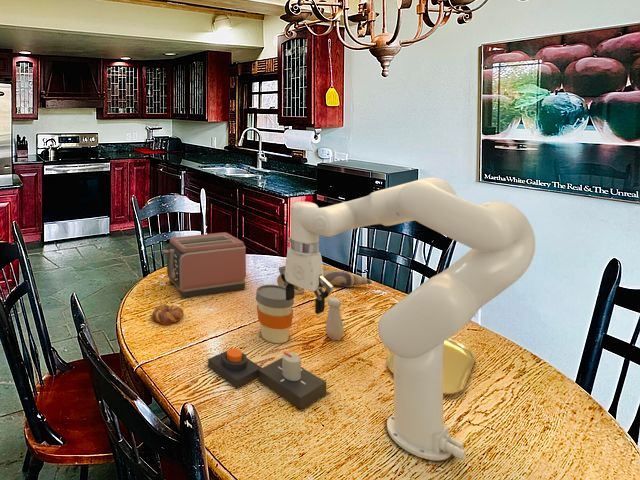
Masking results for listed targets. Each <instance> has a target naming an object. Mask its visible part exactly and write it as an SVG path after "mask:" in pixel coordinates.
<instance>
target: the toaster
mask: <svg viewBox="0 0 640 480" xmlns="http://www.w3.org/2000/svg"><path fill="white" fill-rule="evenodd" d="M246 248H247V247H246V245H245V243H244V241H243V240H241V239H238V238H237V237H235V236H233V235H231V234H230V233H229V232H225V231H224V232H214V233H206V234H205V233H204V234H196V235H195V234H194V235H193V234H192V235H185V236H174V237H170V238H169V243H168V244H167V245H166V249H164V250H162V253H163V254H164V255H166V275H167V277H168V281H169V283H170V285H174V286H175V287H176V289H177V290H179V294H180V297H182V299H186V298H194V297H201V296H207V295H214V294H221V293H227V292H234V291H240V290H245V288H246V277H247V258H246V257H247V255H246V253H247V252H246Z"/></svg>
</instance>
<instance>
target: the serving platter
mask: <svg viewBox="0 0 640 480" xmlns="http://www.w3.org/2000/svg"><path fill="white" fill-rule="evenodd" d="M385 362H386V367H387V368H388V369H389V371H390V372H391V374H393V375H394V354H393V353H392V352H390V353H389V354H388V355H387V357H386V360H385ZM475 362H476V356H475V354H474V353H473V351H471V350H470V349H469V348H468V347H467V346H465V345H464V344H462V343H461V342H459V341H456V340H454V339H451V338H449V339H447V340H446V341H445V342H444V351H443V396H450V395H455V394H458V393H460V392H462V391H463V390H464V389H465V387H466V385H467V382H468V380H469V377H470V375H471V372H472V369H473V367H474V365H475Z"/></svg>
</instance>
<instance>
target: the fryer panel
mask: <svg viewBox="0 0 640 480" xmlns="http://www.w3.org/2000/svg"><path fill="white" fill-rule="evenodd" d="M258 381H259V382H260V383H262V384H263V385H265V386H266V387H268V388H269V389H270V390H272V391H273V392H275V393H276V394H277V395H279V396H281V398H283V399H284V400H286V401H288V402H289V403H290V404H292V405H293V406H295V407H296V408H297V409H299V410H303V409H304V408H305V407H307V406H308V405H310V404H312V403H313V402H316V400H318V399H319V398H321V397H323V396H325V395H326V394H327V381H325V380H324V379H322V378H320V377H318V376H317V375H316V374H314V373H312V372H311V371H308V370H307V369H305V368H304V367H302V366H301V378H300V380H298V381H291V380H288V379H286V378H285V377H284V376H283V374H282V357H281V358H279V359H277V360H274V361H272V362H271V363H269V364H267V365H264V366H263V367H261V369H259V377H258Z"/></svg>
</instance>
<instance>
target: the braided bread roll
mask: <svg viewBox="0 0 640 480" xmlns="http://www.w3.org/2000/svg"><path fill="white" fill-rule="evenodd" d="M183 316H184V310H183V309H182V308H181V307H180V306H175V305H168V304H165V305H160V306H156V308H154V310H153V311H152V315H151V317H152V319H153V321H154V322H156V323H159V324H162V325H164V326H165V325H166V326H167V325H171V324H173V323H177V322H180V321H181V319H182V317H183Z"/></svg>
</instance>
